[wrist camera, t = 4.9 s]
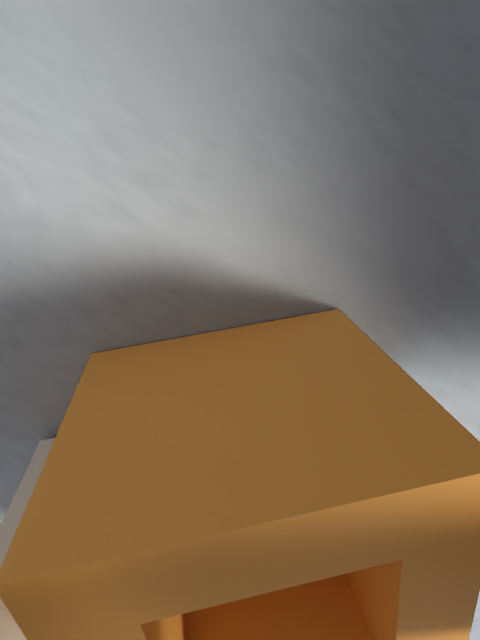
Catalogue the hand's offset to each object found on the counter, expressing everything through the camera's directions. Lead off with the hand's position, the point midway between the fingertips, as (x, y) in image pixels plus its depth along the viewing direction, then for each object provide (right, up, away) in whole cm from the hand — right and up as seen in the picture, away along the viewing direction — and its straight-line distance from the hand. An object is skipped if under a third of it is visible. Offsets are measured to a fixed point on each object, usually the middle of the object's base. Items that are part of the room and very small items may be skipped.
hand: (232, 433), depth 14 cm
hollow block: (0, 0, 0) cm, 0 cm away
